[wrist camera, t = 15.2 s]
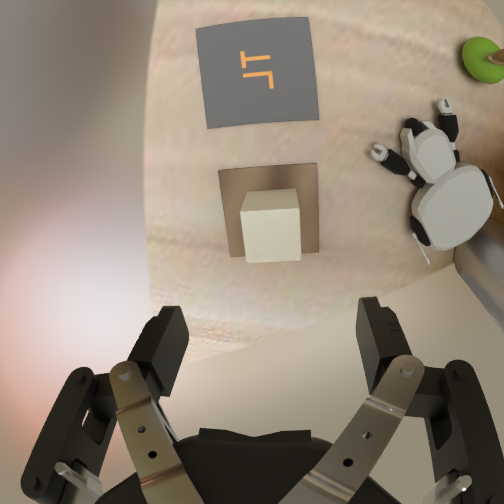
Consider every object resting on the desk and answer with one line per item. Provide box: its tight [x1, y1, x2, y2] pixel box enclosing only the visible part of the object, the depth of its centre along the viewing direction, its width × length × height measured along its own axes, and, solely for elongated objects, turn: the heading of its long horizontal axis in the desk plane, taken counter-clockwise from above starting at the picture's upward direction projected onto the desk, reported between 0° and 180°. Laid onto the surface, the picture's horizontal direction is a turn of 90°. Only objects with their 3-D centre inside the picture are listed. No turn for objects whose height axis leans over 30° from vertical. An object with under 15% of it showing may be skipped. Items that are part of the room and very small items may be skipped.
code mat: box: [196, 17, 319, 129], centre depth 25 cm, size 11×11×1 cm
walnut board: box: [218, 163, 319, 257], centre depth 31 cm, size 10×10×1 cm
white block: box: [240, 189, 301, 263], centre depth 29 cm, size 5×5×6 cm
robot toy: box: [370, 99, 503, 265], centre depth 26 cm, size 12×4×15 cm
